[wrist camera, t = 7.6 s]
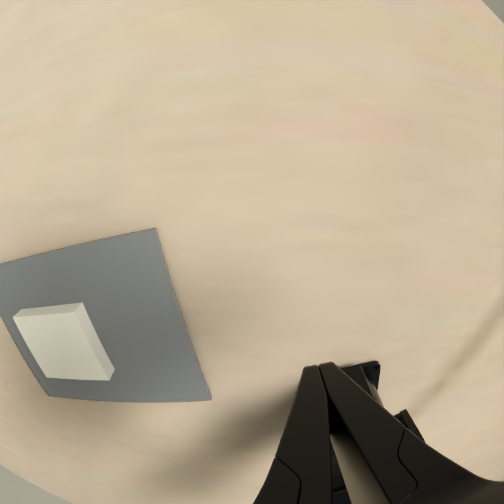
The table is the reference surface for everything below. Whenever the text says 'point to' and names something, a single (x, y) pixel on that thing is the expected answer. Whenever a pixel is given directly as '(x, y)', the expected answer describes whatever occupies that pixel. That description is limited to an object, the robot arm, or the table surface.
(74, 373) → the tile
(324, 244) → the table surface
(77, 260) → the mat
